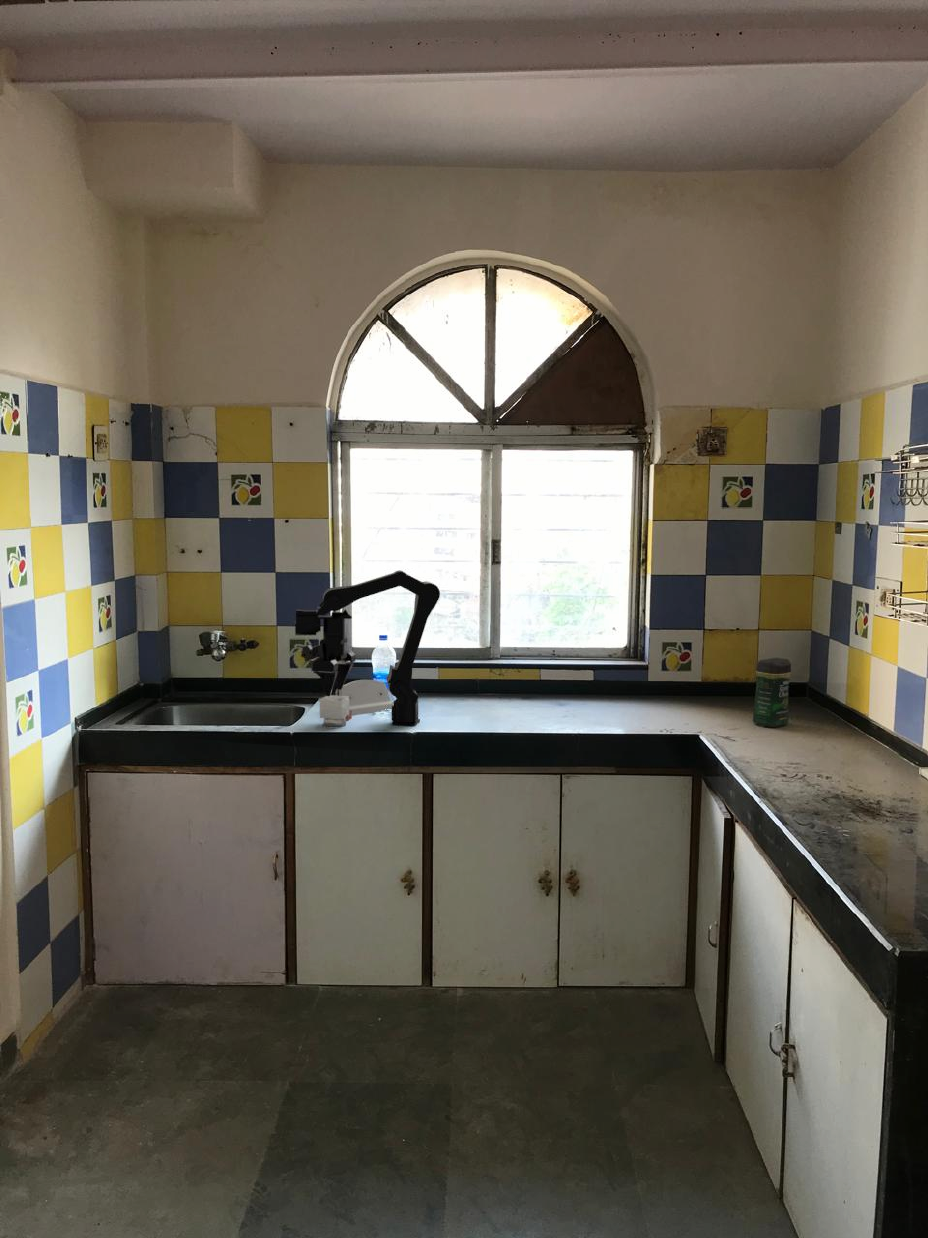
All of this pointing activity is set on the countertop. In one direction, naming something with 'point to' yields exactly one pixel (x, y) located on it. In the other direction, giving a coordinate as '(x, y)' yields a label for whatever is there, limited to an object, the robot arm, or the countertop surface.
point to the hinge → (366, 696)
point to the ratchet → (337, 721)
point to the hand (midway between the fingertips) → (333, 692)
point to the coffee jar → (772, 692)
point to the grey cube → (334, 707)
